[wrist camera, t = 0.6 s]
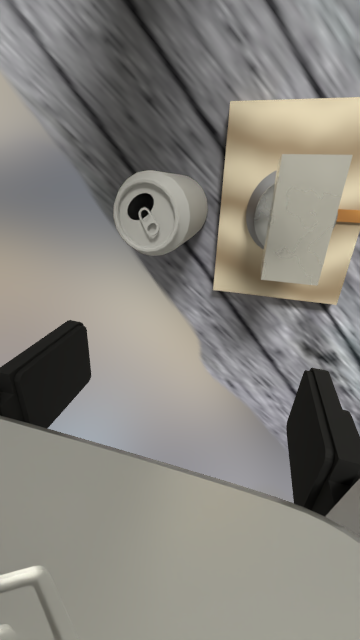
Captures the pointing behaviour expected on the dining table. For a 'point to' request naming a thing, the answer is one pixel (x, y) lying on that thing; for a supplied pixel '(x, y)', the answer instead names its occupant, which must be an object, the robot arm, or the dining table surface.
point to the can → (159, 211)
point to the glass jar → (300, 216)
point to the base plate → (259, 174)
